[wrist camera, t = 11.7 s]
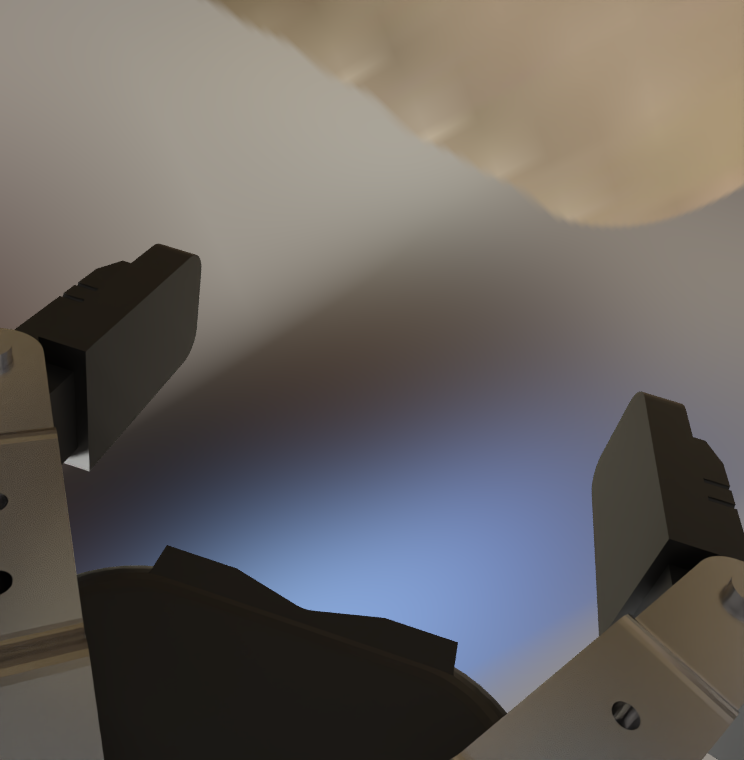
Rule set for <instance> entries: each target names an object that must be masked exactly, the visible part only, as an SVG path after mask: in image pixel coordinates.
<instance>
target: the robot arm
mask: <svg viewBox="0 0 744 760" xmlns="http://www.w3.org/2000/svg"><path fill="white" fill-rule="evenodd" d="M200 279H201V261H200V258H199V256H197V255H195V254H191V253H188V252H185V251H182V250H178V249H175V248H172V247H169V246H165V245H162V244H155V245H154V246H153V247H151V248H150V249H149V250H148V251H146V252H145V253H144V254H142V255H141V256H140V257H138V258H137V259H136V260H135V261H133V262H132V263H128V262H125V261H120V262H117V263H114V264H111V265H108V266H104V267H101V268H98V269H96V270H94V271H93V272H92V273H90V274H89V275H88V276H86V277H85V278H84V279H82V280H81V281H80V282H78V285H77V286H76V285H74V286H73V287H71V288H70V289H69V290H67V291H66V292H65V293H64V295H63V297H61V296H59V297H58V298H57V299H55V300H54V301H52V302H51V303H50V304H48V305H47V306H46V307H44V308H43V309H42V310H40V311H39V312H38V313H37V314H35V315H34V316H32V317H31V318H30V319H28V320H27V321H26V322H24V323H23V324H21V325H20V326H19V327H18V328H16V329H15V330H11V329H4V328H0V760H702V759H703V758H704V757H705V755H706V754H707V753H709V754H710V755H712V756H713V757H715V758H716V759H718V760H744V532H743V529H742V525H741V522H740V518H739V515H738V512H737V509H734V506H735V502H734V498H733V495H732V491H730V490H729V487H730V485H729V481H728V478H727V475H726V472H725V468H724V465H723V463H722V462H721V460H720V459H719V458H718V457H717V455H716V454H715V453H714V451H713V450H712V449H711V447H710V446H709V445H708V444H707V442H706V441H704V440H701V439H697V438H694V437H693V436H692V432H691V428H690V424H689V420H688V416H687V412H686V409H685V406H684V405H683V404H680V403H677V402H674V401H671V400H667V399H664V398H661V397H657V396H654V395H651V394H647V393H644V392H638V393H636V394H635V395H634V397H633V398H632V399H631V401H630V403H629V405H628V406H627V408H626V410H625V412H624V414H623V416H622V418H621V420H620V421H619V423H618V425H617V427H616V429H615V431H614V432H613V434H612V436H611V438H610V440H609V442H608V444H607V445H606V448H605V449H604V451H603V453H602V455H601V457H600V459H599V461H598V464H597V466H596V469H595V473H594V477H593V482H592V507H593V526H594V546H595V565H596V585H597V604H598V622H599V637H598V638H597V639H596V640H594V641H593V642H592V643H591V644H589V645H588V646H587V647H586V648H585V649H584V650H582V651H581V652H580V653H579V654H577V655H576V656H575V657H574V658H573V659H572V660H570V661H569V662H568V663H567V664H566V665H564V666H563V667H562V668H561V669H560V670H559V671H557V672H556V673H555V674H554V675H553V676H551V677H550V678H549V679H548V680H547V681H545V682H544V683H543V684H542V685H541V686H539V687H538V688H537V689H536V690H535V691H533V692H532V693H531V694H530V695H529V696H527V697H526V698H525V699H524V700H523V701H522V702H520V703H519V704H518V705H517V706H516V707H514V708H513V709H512V710H511V711H510V712H508V713H506V712H505V710H504V709H503V708H502V707H501V706H500V705H499V703H498V702H497V701H496V700H495V699H494V698H493V697H492V696H491V695H490V694H489V693H488V692H487V691H486V690H484V689H483V688H482V687H481V686H480V685H479V684H477V683H476V682H475V681H474V680H472V679H471V678H470V677H468V676H467V675H466V674H464V673H462V672H461V671H460V670H458V669H456V668H455V667H454V665H455V658H456V652H457V645H458V642H455V641H452V640H449V639H446V638H443V637H440V636H437V635H434V634H431V633H428V632H425V631H422V630H419V629H416V628H413V627H410V626H407V625H404V624H401V623H398V622H395V621H392V620H389V619H386V618H379V617H369V616H360V615H350V614H340V613H330V612H320V611H311V610H306V609H303V608H301V607H299V606H297V605H295V604H294V603H292V602H290V601H289V600H287V599H285V598H284V597H282V596H281V595H279V594H277V593H276V592H274V591H272V590H271V589H269V588H268V587H266V586H264V585H263V584H261V583H259V582H257V581H256V580H254V579H253V578H251V577H250V576H248V575H246V574H245V573H243V572H242V571H240V570H238V569H237V568H233V567H231V566H227V565H224V564H222V563H219V562H216V561H212V560H210V559H207V558H204V557H201V556H198V555H194V554H192V553H189V552H186V551H183V550H180V549H177V548H174V547H171V546H168V545H167V546H166V547H165V549H164V551H163V552H162V554H161V555H160V557H159V558H158V560H157V562H156V563H155V565H154V566H119V567H108V568H103V569H97V570H93V571H88V572H84V573H81V574H78V575H77V574H76V567H75V560H74V553H73V546H72V538H71V531H70V523H69V516H68V509H67V502H66V495H65V487H64V480H63V473H62V464H63V463H66V464H69V465H72V466H75V467H78V468H81V469H84V470H87V471H90V470H91V469H92V468H93V467H94V465H95V464H96V463H97V462H98V461H99V460H100V459H101V457H102V456H103V455H104V454H105V453H106V451H107V450H108V449H109V448H110V447H111V446H112V445H113V443H114V442H115V441H116V440H117V439H118V438H119V437H120V435H121V434H122V433H123V432H124V431H125V430H126V428H127V427H128V426H129V425H130V424H131V423H132V421H133V420H134V419H135V418H136V417H137V415H138V414H139V413H140V412H141V411H142V410H143V409H144V408H145V406H146V405H147V404H148V403H149V402H150V401H151V399H152V398H153V397H154V396H155V395H156V394H157V393H158V391H159V390H160V389H161V388H162V386H164V384H165V383H166V382H167V381H168V380H169V379H170V377H171V376H172V375H173V374H174V373H175V372H176V370H177V369H178V368H179V367H180V366H181V365H182V363H183V362H184V361H185V360H186V358H187V357H188V355H189V353H190V351H191V348H192V346H193V343H194V339H195V336H196V330H197V318H198V305H199V292H200Z"/></svg>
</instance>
